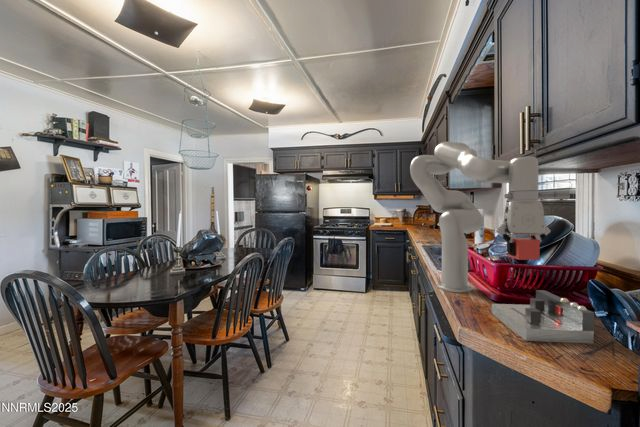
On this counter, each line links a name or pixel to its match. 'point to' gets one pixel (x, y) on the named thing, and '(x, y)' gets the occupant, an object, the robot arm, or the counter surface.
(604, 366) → the counter surface
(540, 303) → the block
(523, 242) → the matte red cuboid
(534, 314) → the block
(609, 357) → the counter surface
